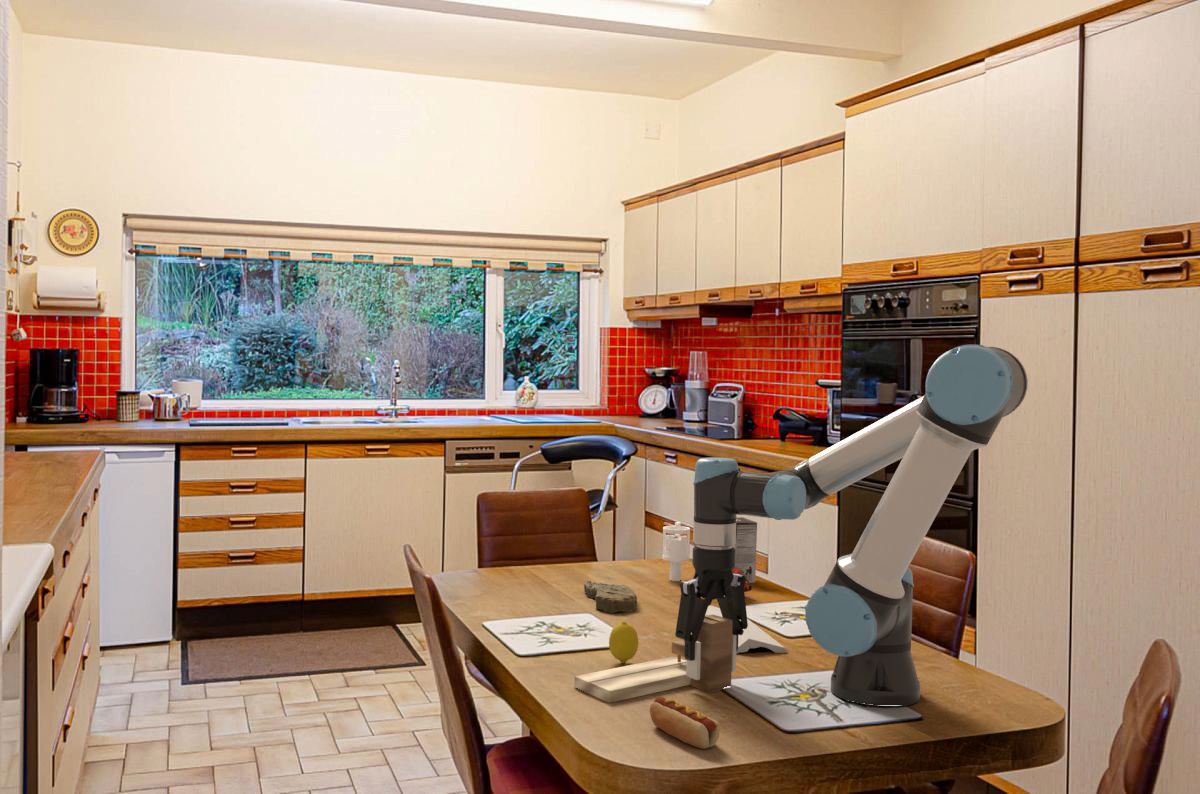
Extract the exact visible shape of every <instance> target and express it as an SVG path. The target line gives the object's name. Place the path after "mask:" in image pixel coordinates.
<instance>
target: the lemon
mask: <svg viewBox="0 0 1200 794" xmlns="http://www.w3.org/2000/svg"><path fill="white" fill-rule="evenodd" d="M609 634H610V635H609V637H608V639H609V641H608V646H609V651H610V654H611V655H612V656H613V657H614V658H615V659H616V660H618V661H619V662H620V663H621V664H625V663H627V662H628V661H629V660H631V659H633V658H634V657H635V655H636V654H637V652H638V648H639V636H638V633H637V630H636V629H635V628H634V626H632V625H631V624H629V623H628V622H626V621H624V620H623V621H621V622H620V623H618V624H616V625H615V626H614V627H613V628H612V630H611V631H610V633H609Z"/></svg>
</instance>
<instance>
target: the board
mask: <svg viewBox="0 0 1200 794" xmlns="http://www.w3.org/2000/svg"><path fill="white" fill-rule="evenodd" d="M686 667H687V659H683V658H681V662H678V656H669V657H663V658H658V659H654V660H649V661H643V662H639V663H634V664H633V663H632V664H629V665H624V666H619V667H613V668H609V669H604V670H599V671H595V672H589V673H584V674H579V675H574V689H576V688H578V689H577V690H579V689H580V690H579V691H581V690H582V692H583V691H584V693H586V694H589V695H590V696H593V697H595V698H597V699H600V700H602V701H604V702H606V703H609V704H610V703H615V702H620V701H624V700H628V699H634V698H637V697H642V696H646V695H650V694H655V693H658V692H659V693H660V692H665V691H669V690H673V689H678V688H681V687H687V686H691V678H689V677H687V676H686Z"/></svg>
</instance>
